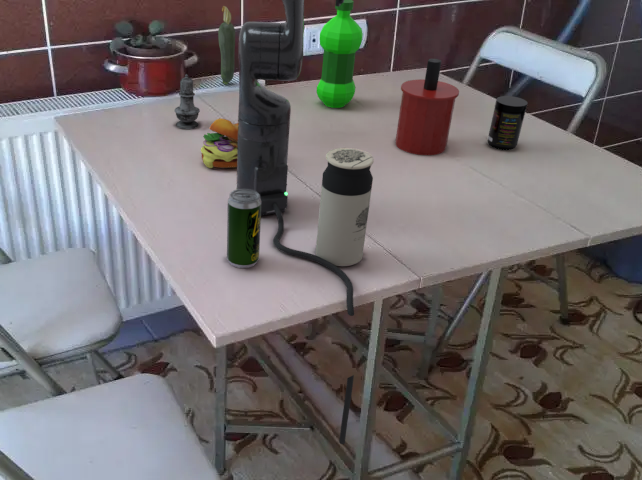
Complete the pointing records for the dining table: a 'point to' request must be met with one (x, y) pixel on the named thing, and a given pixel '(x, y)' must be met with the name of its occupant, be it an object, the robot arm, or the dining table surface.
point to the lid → (430, 85)
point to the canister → (424, 125)
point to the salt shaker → (187, 105)
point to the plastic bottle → (339, 57)
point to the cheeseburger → (221, 145)
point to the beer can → (243, 228)
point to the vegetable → (227, 47)
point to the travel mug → (344, 206)
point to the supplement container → (506, 122)
